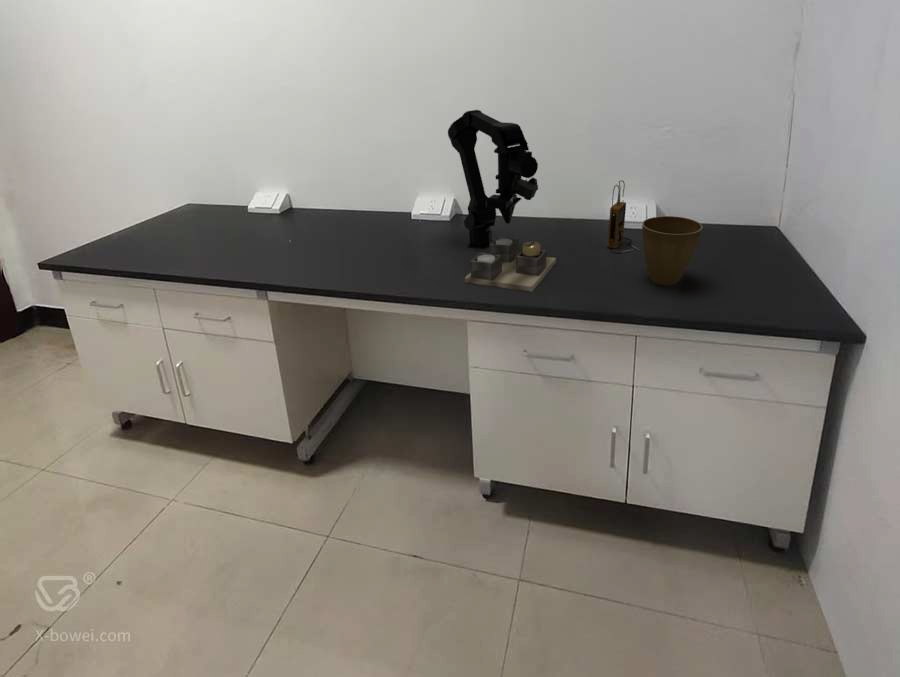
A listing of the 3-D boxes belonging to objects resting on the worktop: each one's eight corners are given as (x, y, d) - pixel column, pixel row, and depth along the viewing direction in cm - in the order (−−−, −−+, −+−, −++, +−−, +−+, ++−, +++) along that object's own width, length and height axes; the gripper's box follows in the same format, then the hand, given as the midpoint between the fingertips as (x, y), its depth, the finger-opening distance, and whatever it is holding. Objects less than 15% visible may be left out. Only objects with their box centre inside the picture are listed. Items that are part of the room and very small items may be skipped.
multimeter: (635, 256, 180) (641, 191, 170) (603, 252, 185) (607, 188, 175) (649, 241, 190) (655, 178, 181) (618, 237, 195) (623, 176, 186)
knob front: (475, 276, 170) (474, 259, 167) (482, 269, 174) (481, 253, 171) (491, 278, 168) (490, 261, 165) (497, 271, 172) (497, 255, 169)
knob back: (493, 258, 181) (493, 243, 178) (499, 253, 184) (499, 237, 182) (509, 260, 178) (508, 245, 176) (514, 255, 182) (514, 239, 180)
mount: (465, 282, 170) (464, 261, 167) (494, 255, 187) (493, 235, 184) (531, 291, 162) (532, 269, 159) (555, 262, 179) (556, 242, 176)
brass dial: (520, 263, 169) (519, 245, 167) (525, 257, 173) (525, 239, 171) (536, 265, 167) (537, 247, 165) (542, 259, 171) (542, 241, 169)
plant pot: (662, 296, 155) (669, 237, 147) (625, 277, 167) (630, 221, 159) (706, 284, 160) (715, 226, 152) (667, 266, 172) (674, 212, 164)
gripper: (521, 181, 160) (521, 236, 168) (546, 164, 174) (544, 216, 182) (484, 178, 165) (485, 232, 172) (510, 162, 179) (510, 212, 187)
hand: (508, 223), depth 178 cm, fingers closed
